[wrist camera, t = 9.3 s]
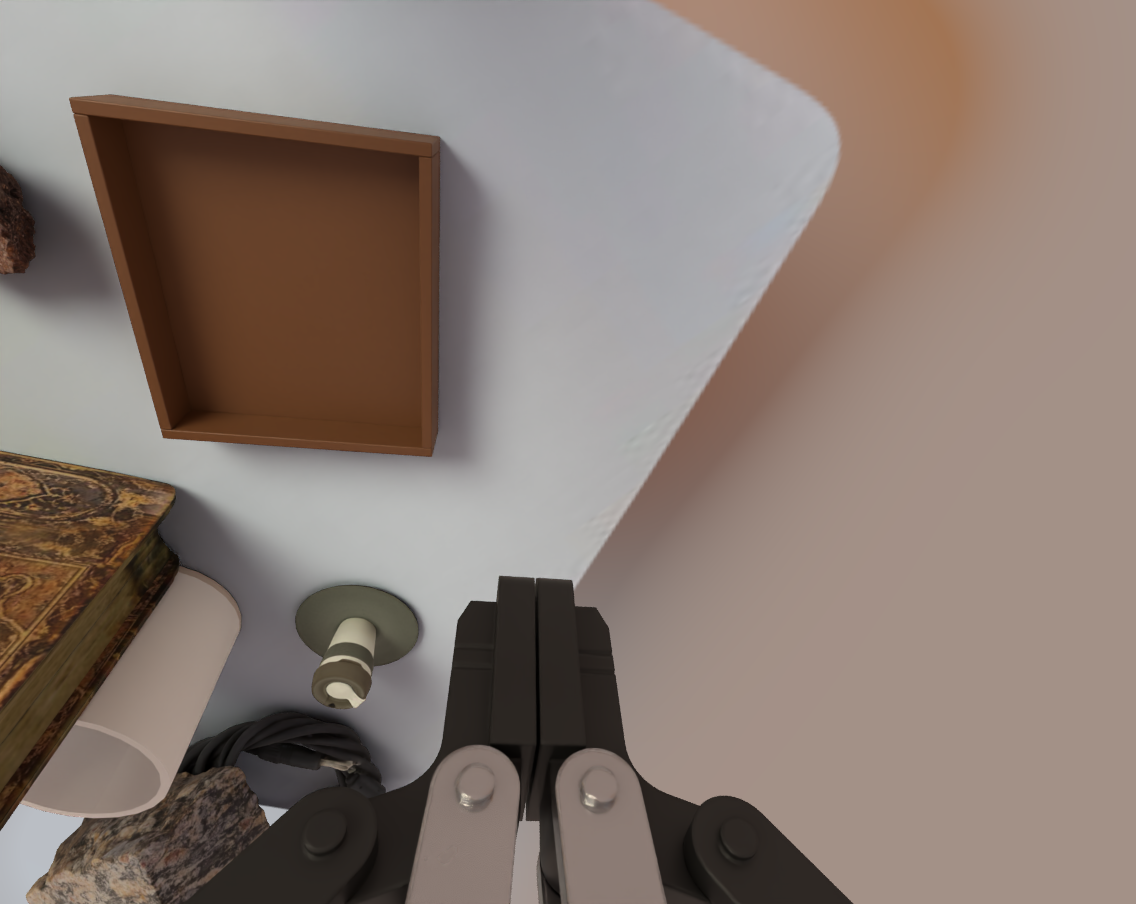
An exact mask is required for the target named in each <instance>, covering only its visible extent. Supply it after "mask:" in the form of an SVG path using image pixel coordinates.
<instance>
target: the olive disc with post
mask: <svg viewBox="0 0 1136 904" xmlns="http://www.w3.org/2000/svg"><path fill="white" fill-rule="evenodd" d="M295 623H296V629H297V632H298V634H299V636H300V638H301V639H302V641H303V642H304V643H305V644H306V645H307V646H308V647H309V648H310V649H311V650H312V651H314V652H315V653H317V654H318V655H320V656H322V657H323V659H322V661H321V663H320V666H319V668H318V669H317V670H316V671H315V673H314V676H313V681H312V694H313V696H314V698H315V699H316V700H317V701H318V702H320V703H321V704H323V705H325V706H327V707H331V708H335V709H349V708H353V707H354V708H357V707H358V706H359V705H360V704H361V703H362V702H364V701H365V700H366V696H367V694H368V692H369V690H370V687H371V684H372V680H371V676H372V671H373V666H380V665H385V664H389V663H392V662H394V661H397V660H399V659H400V658H402V657H403V656H405V655H406V654H407V653H408V652H409V651H410V650H411V649H412V648H413V646H414V645H415V643H416V641H417V638H418V623H417V620H416V617H415V615H414V614H413V612H412V611H411V610H410V608H409V607H408V606H407V605H406V604H405V603H403V602H402V601H401V600H399V599H398V598H396V597H395V596H393V595H391V594H389V593H387V592H384V591H382V590H379V589H375V588H372V587H366V586H357V585H344V586H335V587H330V588H326V589H323V590H321V591H319V592H317V593H315V594H313V595H311V596H310V597H308V598H307V599H306V600H305V601H304V602H303V603H302V604H301V605H300V607H299V609H298V611H297V614H296V618H295Z"/></svg>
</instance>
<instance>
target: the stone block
mask: <svg viewBox="0 0 1136 904" xmlns="http://www.w3.org/2000/svg"><path fill="white" fill-rule="evenodd" d="M269 827H270V826H269V823H268V822H267V819H266V817H265V812H264V810H263V809H262V808H261V807H260V806H259V805H258V798H257V796H256V794H255V793H254V792H253V791H251V790H250V788H249V786H248V785H247V783H246V776H245V774H244V773H243V772H242V770H241V769H240V768H239V767H233V766H225V767H219V768H211V769H209V770H208V771H207V772H203V773H201V774H198V775H192V774H190V773H187V772H183V773H178V774H176V775H175V778H174V780H173V782H172V784H171V786H170V788H169V790H168V793H167V794H166V796H165V798H164V799H163V800H161V801H160V802H159V803H158V804H157V805H155V806H154V807H152V808H150V809H147V810H145V811H142V812H140V813H137V814H132V815H127V816H122V817H113V818H84V820H83V822H82V825H81V826H80V827H79V828H78V829H77V830H76V831H75V832H74V833H73V834H71V835H70V836H69V837H68V838H67V839H66V840H65V841H64V842H63V843H61V845H60V846H59V848H58V849H57V851H56V855H55V858H54V861H53V863H52V865H51V867H50V869H49V872H47V873H46V874H45V875H43V876H42V877H41V878H39V879H38V880H37V881H36V883H35V884H34V885H33V886H32V887H31V889H30V890H29V892H28V893H27V894H26V898H27V901H28V903H29V904H184V903H185V902H186V901H187V900H188V899H189V898H190V897H192V896H193V895H194V894H195V893H196V892H197V891H198V890H199V889H200V888H202V887H203V886H204V885H205V884H206V883H207V882H208V881H209V880H211V879H212V878H213V877H214V876H215V875H216V874H217V873H218V872H220V871H221V870H222V869H223V868H224V867H225V866H226V865H227V864H229V863H230V862H231V861H232V860H233V859H234V858H235V857H236V856H238V855H239V854H240V853H241V852H242V851H243V850H244V849H245V848H246V847H248V846H249V845H250V844H251V843H252V842H253V841H254V840H255V839H257V838H258V837H259V836H260V835H261V834H262V833H263V832H264V831H266V830H267V829H268V828H269Z"/></svg>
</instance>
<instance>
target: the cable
mask: <svg viewBox="0 0 1136 904" xmlns="http://www.w3.org/2000/svg"><path fill="white" fill-rule="evenodd" d="M292 743H298V744H302V745H304V746H307V747H309V748H312V749H314V750H316V751H313V750H311V749H309V748H306V747H304V746H301V745H297V744H292ZM241 751H245V752H247V753H251V754H254V755H257V756H258V757H259V758H261V759H264V760H266V761H269V762H273V763H276V764H277V763H283V764H286V765H290V766H294V767H300V768H306V769H312V770H318V769H319V768H320V767H321V766H328V767H332V768H335V771H336V774H337V777H338V781H339V785H340V787H347V788H351V789H354V790H356V791H358V792H360V793H361V794H363V795H364V796H365V797H366V798H367V799H368V798H371V797H374V796H377V795H380V794H383V793H385V792H386V789H385V787H384V786H383V785H381V775H380V772H379V770H378V769H377V768H376V766H375V765H374V764H372V763H371V757H370V753H369V751H368V750H367V748H366V747H364V746H363V745H362V744H361V741H360V738H359V736H358V735H357V733H356V732H355V731H354V730H352V729H351V728H349V727H347V726H344V725H340V724H334V723H325V722H322V721H320V720H316V719H312V718H310V717H308V716H306V715H303V714H300V713H294V712H283V713H277V714H273V715H270V716H267V717H265V718H263V719H261V720H259V721H253V722H246V723H242V724H238V725H236V726H233V727H231V728H228V729H227V730H225V731H223V732H221V733H220V734H219V735H217V736H216V737H211V738H207V739H204V740H201V741H199V742H197V743H195V744H194V745H192V746H191V747H189V748H188V749H187V751H186V753H185V755H184V757H183V760H182V762H181V764H180V766H179V769H178V771H177V773H176V774H178V773H183V772H187V773H190V774H192V775H198V774H201V773H203V772H207V771H208V770H209V769H211V768H219V767H225V766H233V767H234V765H235V763H236V759H237V757H238V755H239V753H240V752H241Z"/></svg>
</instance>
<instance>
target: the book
mask: <svg viewBox="0 0 1136 904" xmlns="http://www.w3.org/2000/svg"><path fill="white" fill-rule="evenodd" d="M175 500H176V494H175V489H174V487H173V486H171V485H169V484H166V483H162V482H157V481H152V480H148V479H143V478H138V477H134V476H129V475H125V474H120V473H115V472H111V471H106V470H100V469H95V468H89V467H84V466H79V465H73V464H68V463H62V462H57V461H52V460H46V459H41V458H36V457H30V456H25V455H19V454H14V453H9V452H3V451H0V831H1V829H2V828H3V827H4V825H5V824H6V822H7V821H8V819H9V818H10V816H11V815H12V814H13V812H14V811H15V809H16V808H17V806H18V805H19V803H20V802H21V801H22V799H23V798H24V796H25V795H26V793H27V792H28V791H29V789H30V788H31V786H32V785H33V783H34V782H35V780H36V779H37V778H38V776H39V775H40V773H41V772H42V770H43V769H44V768H45V766H46V765H47V763H48V762H49V760H50V759H51V757H52V756H53V755H54V753H55V752H56V750H57V749H58V747H59V746H60V745H61V743H62V742H63V740H64V739H65V737H66V736H67V734H68V733H69V732H70V730H71V729H72V727H73V726H74V724H75V723H76V721H77V720H78V719H79V717H80V716H81V714H82V713H83V711H84V710H85V709H86V707H87V706H88V704H89V703H90V701H91V700H92V698H93V697H94V696H95V694H96V693H97V691H98V690H99V688H100V687H101V686H102V684H103V683H104V681H105V680H106V678H107V677H108V675H109V674H110V673H111V671H112V670H113V668H114V667H115V665H116V664H117V662H118V661H119V660H120V658H121V657H122V655H123V654H124V652H125V651H126V650H127V648H128V647H129V645H130V644H131V642H132V641H133V639H134V638H135V637H136V635H137V634H138V632H139V631H140V629H141V628H142V627H143V625H144V624H145V622H146V621H147V619H148V618H149V616H150V615H151V614H152V612H153V611H154V609H155V608H156V606H157V605H158V603H159V602H160V601H161V599H162V598H163V596H164V595H165V593H166V592H167V590H168V589H169V587H170V586H171V584H172V583H173V581H174V578H175V576H176V575H177V573H178V570H179V558H178V556H177V555H176V554H174V553H173V552H172V551H171V550H170V549H169V548H168V547H167V546H166V545H165V544H164V542H163V541H162V539H161V537H160V536H159V533H158V530H157V527H158V526H159V525H160V524H161V522H162V521H163V520H164V519H165V517H166V516H167V515H168V513H169V512H170V509H171V508H172V506H173V505H174V503H175Z"/></svg>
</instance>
